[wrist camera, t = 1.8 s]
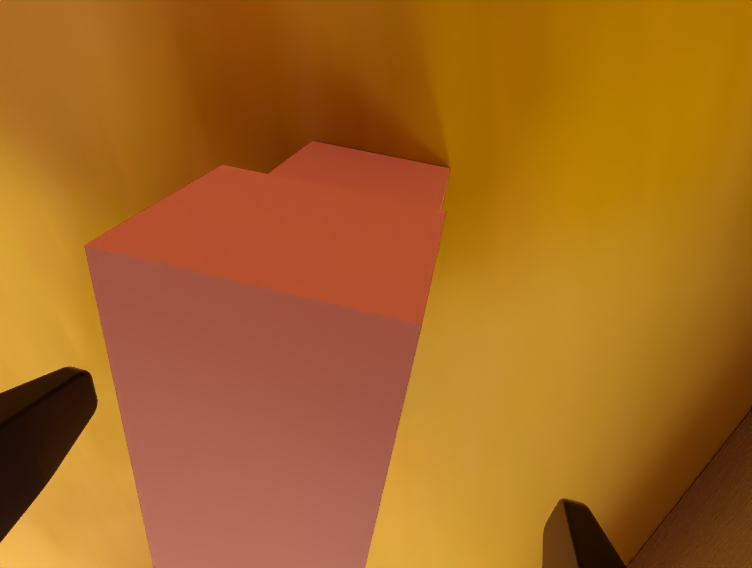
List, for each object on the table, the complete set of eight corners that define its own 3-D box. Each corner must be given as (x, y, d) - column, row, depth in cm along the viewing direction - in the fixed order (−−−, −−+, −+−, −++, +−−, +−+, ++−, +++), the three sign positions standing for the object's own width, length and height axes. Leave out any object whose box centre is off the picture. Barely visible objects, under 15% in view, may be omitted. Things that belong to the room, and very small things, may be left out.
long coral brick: (309, 114, 9) (84, 244, 4) (461, 143, 9) (422, 325, 4) (289, 450, 14) (180, 689, 9) (384, 476, 14) (324, 739, 9)
